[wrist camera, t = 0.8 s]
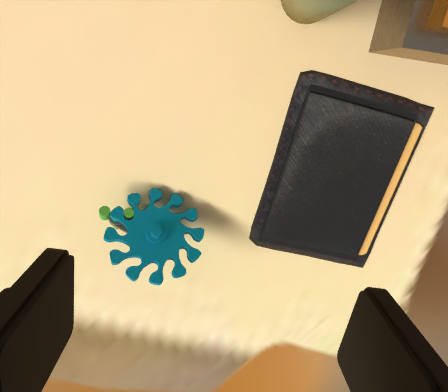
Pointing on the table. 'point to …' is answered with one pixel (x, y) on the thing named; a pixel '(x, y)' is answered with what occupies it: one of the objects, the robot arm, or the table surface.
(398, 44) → the box
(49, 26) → the table surface
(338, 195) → the dark grey flat slab
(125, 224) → the gear
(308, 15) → the spout can
